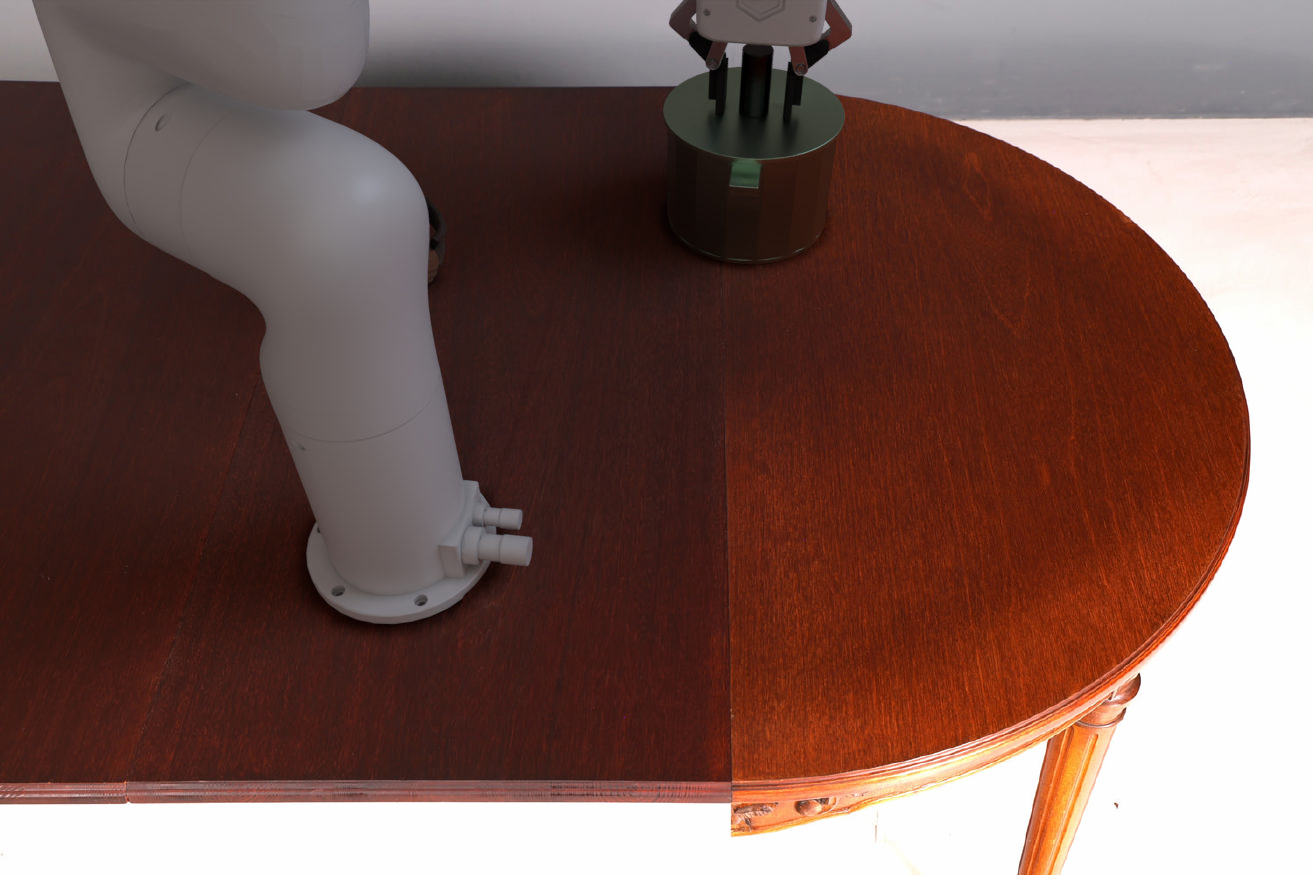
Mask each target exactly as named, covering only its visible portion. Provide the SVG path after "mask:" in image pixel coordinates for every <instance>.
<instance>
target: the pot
mask: <svg viewBox="0 0 1313 875" xmlns="http://www.w3.org/2000/svg"><path fill="white" fill-rule="evenodd" d="M837 140H838V138H837V139H836V140H835V141H834V142H833V143H832V144H831V145H829V146H828V147H826V148H825V149H823V150H821V151H819V152H818V153H816V154H813V155H811V156H808V157H805V158H802V159H798V160H794V161H789V162H784V163H774V164H744V163H735V162H729V161H724V160H719V159H716V158H712V157H709V156H706V155H703V154H700V153H698V152H696V151H694V150H692V149H690V148H688V147H687V146H685V145H683V144H682V143H681V142H679V141H678V140H677V139H676V138H675V137H674V136H673V135H672V134H671V133H670V132H669V130H668V129H667V142H666V143H667V144H666V145H667V156H666V158H667V159H666V161H667V162H666V164H667V166H666V216H667V218H668V219H667V220H668V224H669V227H670V230H671V231H672V233H673V235H674V236H675V237H676V238H677V240H678V241H680V242H681V243H682V244H683V245H684V246H685V247H687V248H689V249H690V251H693V252H695V253H696V254H699V255H701V256H704V257H706V258H708V259H712V260H715V261H719V262H724V263H728V264H734V265H736V264H737V265H747V266H748V265H749V266H750V265H751V266H752V265H766V264H774V263H777V262H782V261H785V260H788V259H789V260H790V259H791V258H794V257H796V256H799V255H801V254H802V253H804V252H805V251H807V250H809V249H810V248H811V247H812V246H814V244H815V243H816V242H817V241H818V240H819V238H820V237H821V235H822V233H823V231H824V229H825V226H826V219H827V211H828V204H829V196H830V190H831V183H832V175H833V168H834V161H835V153H836V147H837Z"/></svg>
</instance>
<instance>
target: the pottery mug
mask: <svg viewBox="0 0 1313 875" xmlns="http://www.w3.org/2000/svg"><path fill="white" fill-rule="evenodd" d="M424 197H425V201H426V204H427V209H428V216H429V225H430V226H431V227H432V229H433V230H434V233H435V234H433V235H432V236H431V237H430V238H429V255H428V285H429V284H430V283H432V282H433V281H434V279H435V278H436V276H437V275H438V269H439V268H441V267H442V266H443V262H444V259H445V254H446V241H445V237H446V235H447V226H448V225H447V223H446V220H445V219H444V215H443V214H442V212H441V211H440V210H439V208H438V207H437V205H436V204H435V203H434V202H432V200H431V199H429V198H428V197H426V195H424Z"/></svg>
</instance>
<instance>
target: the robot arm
mask: <svg viewBox="0 0 1313 875" xmlns="http://www.w3.org/2000/svg"><path fill="white" fill-rule="evenodd" d="M31 2H32V6H33V8H34V11H35V15H36V17H37V22H38V25H39V27H40V30H41V33H42V36H43V38H44V41H45V45H46V47H47V51H48V53H49V56H50V59H51V62H52V64H53V67H54V70H55V74H56V76H57V79H58V82H59V85H60V88H61V90H62V94H63V96H64V99H65V102H66V105H67V109H68V111H69V114H70V116H71V120H72V122H73V125H74V128H75V131H76V133H77V136H78V140H79V142H80V145H81V148H82V151H83V153H84V156H85V159H86V161H87V164H88V167H89V170H90V172H91V175H92V178H93V179H94V181H95V183H96V186H97V188H98V189H99V191H100V193H101V195H102V197H103V199H104V200H105V202H106V204H107V205H108V207H109V208H110V210H111V211H112V212H113V213H114V215H115V216H116V218H117V219H118V220H119V221H120V222H121V223H122V224H123V225H124V226H125V227H126V228H128V229H129V230H130V231H131V232H132V233H134V234H135V235H136V236H138V237H139V238H140V239H142V240H144V241H145V242H147V243H148V244H150V245H152V246H153V247H156V248H157V249H159V250H161V251H162V252H164V253H166V254H168V255H170V256H172V257H174V258H176V259H177V260H179V261H182V262H184V263H187V264H188V265H190V266H192V267H194V268H196V269H198V270H200V271H202V272H204V273H206V274H207V275H209V276H210V277H212V278H213V279H215V280H217V281H219V282H220V283H223V284H225V285H227V286H229V287H230V288H232V289H234V290H236V291H238V292H239V293H241V294H242V295H244V296H245V297H246V298H247V299H248V300H250V301H251V302H252V303H253V304H254V305H255V306H256V308H257V309H258V310H259V312H260V313H261V315H262V317H263V320H264V322H265V333H264V335H263V338H262V341H261V343H260V349H259V368H260V369H259V370H260V373H261V377H262V378H261V379H262V381H263V384H264V387H265V390H266V393H267V396H268V398H269V401H270V405H271V407H272V409H273V411H274V414H275V416H276V418H277V421H278V423H279V426H280V429H281V431H282V434H283V436H284V440H285V442H286V444H287V447H288V450H289V453H290V455H291V458H292V460H293V463H294V466H295V468H296V470H297V471H296V472H297V473H298V474H297V475H298V476H299V480H300V482H301V484H302V487H303V490H304V492H305V494H306V497H307V500H308V503H309V505H310V508H311V511H312V514H313V516H314V518H315V523H314V524H313V527H312V529H311V532H310V534H309V536H308V540H307V546H306V552H305V554H306V555H305V556H306V565H307V570H308V573H309V575H310V578H311V581H312V583H313V585H314V587H315V589H316V591H317V593H318V594H319V595H320V596H321V598H322V599H324V601H325V602H326V603H327V604H328V605H329V606H331V607H332V608H333V609H335V610H336V611H338V612H339V613H340V614H343V615H345V616H347V617H349V618H352V619H355V620H356V621H361V622H366V623H372V624H381V625H386V624H387V625H397V624H403V623H404V624H405V623H412V622H415V621H419V620H423V619H426V618H429V617H433V616H435V615H437V614H438V613H441V612H443V611H445V610H447V609H449V608H451V607H452V606H454V605H455V604H457V603H458V602H460V601H462V600H463V599H464V597H465V595H466V593H468V592H469V591H470V590H471V589H472V588H474V587H475V585H476V584H477V583H478V582H479V581H480V579H481V578H482V577H483V575H484V574H485V573H486V571H487V569H488V567H489V566H490V564H491V562H496V563H500V564H502V565H510V566H511V565H512V566H519V567H520V566H521V567H529V565H530V563H531V561H532V556H533V555H532V554H533V548H534V547H533V546H534V544H533V542H534V541H533V538H532V536H524V535H515V534H509V533H508V534H507V533H506V534H497V528H499V529H504V530H514V531H520V529H521V528H522V523H523V510H522V509H519V508H508V507H501V508H499V507H491V505H490V504H489V502H488V501H487V500H486V498H485V496H484V495H483V494H482V493H481V490H480V485H479V482H478V481H476V480H468V479H464V478H463V473H462V470H461V464H460V459H459V454H458V449H457V444H456V440H455V435H454V434H455V433H454V429H453V425H452V420H451V416H450V410H449V406H448V401H447V397H446V396H447V395H446V391H445V386H444V381H443V377H442V372H441V367H440V363H439V358H438V355H437V350H436V344H435V338H434V333H433V327H432V322H431V314H430V306H429V304H430V303H429V289H428V288H429V287H428V285H429V284H428V255H429V248H430V223H429V216H428V209H427V204H426V201H425V197H426V196H425V195H424V192H423V190H422V188H421V186H420V184H419V182H418V181H417V179H416V178H415V176H414V174H412V172H411V171H410V169H409V168H408V167H407V166H406V165H405V164H404V163H403V162H402V161H401V160H400V159H399V158H398V157H397V156H396V155H394V154H393V153H391V152H390V151H389V150H388V149H386V148H385V147H384V146H383V145H381V144H379V143H378V142H376V141H374V140H373V139H371V138H369V137H367V136H366V135H364V134H362V133H360V132H359V131H356V130H354V129H352V128H350V127H348V126H345V125H344V124H341V123H338V122H335V121H333V120H330V119H328V118H326V117H323V116H320V115H318V114H315V113H313V112H310V110H315V109H319V108H321V107H324V106H328V105H330V104H332V103H334V102H336V101H338V100H340V99H341V98H343V97H344V95H346V94H347V93H348V92H349V91H350V89H351V88H353V86H354V85H355V83H356V82H357V81H358V79H359V78H360V76H361V74H362V72H363V69H364V67H365V64H366V60H367V56H368V52H369V48H370V28H371V26H370V25H371V24H370V22H371V19H370V18H371V16H370V15H371V14H370V11H371V10H370V0H31ZM669 17H670V18H669V20H668V25H669V27H670V29H672V30H673V31H674V32H675V33H676V34H677V35H679V36H680V37H681V38H682V39H683V40H685V41H687V43H688V46H690V48H692V50H694V52H695V53H696V54H697V55H698V56H699V57H700V59H702V60H703V61H704V62H705V67H706V68H707V69H708V72H709V92H708V99H709V100H716V104H715V114H719V115H721V113H724V108H725V103H726V97H727V79H728V68H729V57H727V52H726V50H727V47H728V44H740V45H746V44H753V45H769V46H772V47H787V48H788V53H789V57H790V61H787V68H786V71H787V77H786V87H785V98H784V108H783V117H785V119H790V120H791V112H792V105H796V106H801V97H802V87H803V78H804V76H805V75H807V74H808V72H809V69H810V68H812V67H813V66H814V65H816V64H817V63H818V62H819V61H820V60H822V59H823V58H825V57H826V56H827V55H828V54H829V52H830V51H832V50H834V49H836V48H837V47H839V46H841V45H842V44H844V43H845V42H846V41H848V40H850V39H851V38H852V36H853V25H852V23H851V20H849V18H848V17H847V15H846V14H845V12H844V11H843V9H842V8H841V6H840V5H839V3H838V2H837V1H836V0H682V1H681V2H680V3H679V4H678V5H677V6H676V8H675V9H674V10H673V11H672V12H671V14H670V16H669ZM693 17H695V21H694V20H693ZM825 22H826V23H827V26H829V27H828V29H826V30H825V31H824V26H825ZM823 31H824V32H823ZM424 196H425V197H424Z"/></svg>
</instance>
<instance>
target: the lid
mask: <svg viewBox="0 0 1313 875" xmlns="http://www.w3.org/2000/svg"><path fill="white" fill-rule="evenodd" d="M774 55H775V49H774V46H769V45H753V44H743V46H742V49H741V65H740V66H733V67H728V79H727V97H726V103H725V108H724V113H721V115H719V114H715V104H716V100H709V99H708V92H709V71H706V72H705V71H704V72H703V73H702V72H701V73H700V74H697V75H694V76H692V77H690V78H687V79H686V80H684V81H683V82H680V83H679V84H678V85H677V86H675V87H674V88H673V89H672V90H671V91H670V92H669V94H668V95H667V97H666V98H665V101H664V103H663V110H662V115H663V122H664V124H665V127H666V129H667V131H668V130H669V132H670V133H671V134H672V135H673V136H674V137H675V138H676V139H677V140H678V141H679V142H681V143H682V144H683V145H685V146H687V147H688V148H690V149H692V150H694V151H696V152H698V153H700V154H703V155H706V156H709V157H712V158H716V159H719V160H724V161H729V162H735V163H744V164H774V163H784V162H789V161H794V160H798V159H802V158H805V157H808V156H811V155H813V154H816V153H818V152H819V151H821V150H823V149H825V148H826V147H828V146H829V145H831V144H832V143H833V142H834V141H835V140H836V139H837V140H838V138H839V137H840V135H841V133H842V131H843V129H844V126H845V119H846V114H845V108H844V106H843V104H842V102H841V100H840V99H839V97H838V96H836V94H835V93H834V92H833V91H832V90H830V89H829V88H828V87H826V85H824V84H822V83H820V82H818V81H816V80H815V79H813V78H810V77H808V76H805V75H804V78H803V87H802V97H801V106H796V105H792V112H791V120H790V119H785V117H783V108H784V98H785V87H786V77H787V70H785V69H780V68H773V66H774ZM837 140H836V141H837Z"/></svg>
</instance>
